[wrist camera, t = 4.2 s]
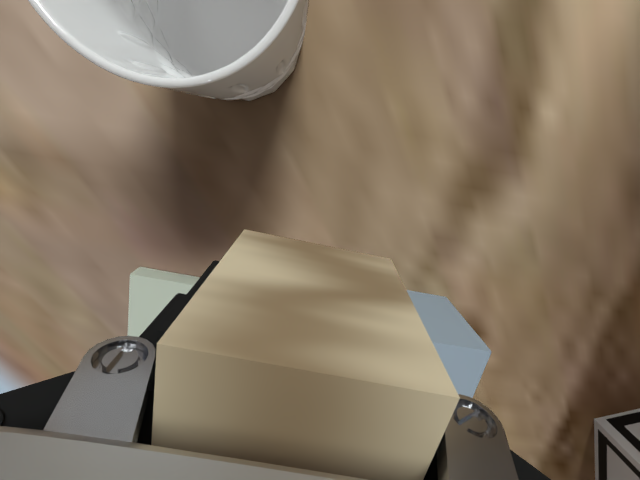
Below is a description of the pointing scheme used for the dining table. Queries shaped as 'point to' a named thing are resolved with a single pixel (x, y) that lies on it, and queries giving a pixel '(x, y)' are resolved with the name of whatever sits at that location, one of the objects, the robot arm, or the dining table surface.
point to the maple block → (303, 365)
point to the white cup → (186, 41)
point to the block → (617, 446)
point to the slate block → (453, 341)
